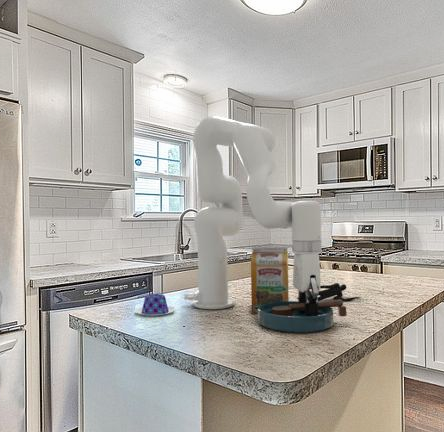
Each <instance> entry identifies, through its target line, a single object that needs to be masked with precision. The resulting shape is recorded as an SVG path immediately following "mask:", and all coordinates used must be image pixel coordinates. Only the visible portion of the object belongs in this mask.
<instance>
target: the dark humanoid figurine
mask: <svg viewBox="0 0 444 432" xmlns="http://www.w3.org/2000/svg"><path fill="white" fill-rule="evenodd" d="M320 289H323V290H319V291H318V292H319V294H318V296H317V297H318V298H317V299H318V302H319V301H324V300H326V299H330V298H332V297H333V300H342V301H343V302H350V301H354V300H358V299H359V300H362V296H353V297H346V298H343V295H344V294H343V291H346V289H347V285H346V284H341V285H340V283H338V282H335V283H333V284H329V285H320ZM309 296H310V294H309ZM298 299H299V298H298V297H297V298H296V300H298ZM300 299H301V298H300Z"/></svg>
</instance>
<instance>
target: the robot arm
mask: <svg viewBox="0 0 444 432" xmlns="http://www.w3.org/2000/svg"><path fill="white" fill-rule="evenodd" d="M275 143H276V140H275V136H274V134H273V132H272V131H271V130H270V129H269V128H267V127H265V126H260V125H256V124H252V123H246V122H242V121H237V120H234V119H230V118H226V117H221V116H215V115H211V116H206V117H204V118H202V119H201V120H200V121H199V122H198V123H197V125H196V127H195V129H194V132H193V138H192V144H193V149H194V156H195V164H196V169H195V170H196V190H197V195H198V198H199V200H200V201H202V202H203V203H207V204H219V206H209V207H208V206H207V207H203V208H201V209H200V210H199V211H197V212H196V214H195V216H194V219H193V226H194V227H193V228H194V231H195V235H196V243H197V244H196V245H197V274H198V275H197V279H198V281H197V282H198V284H197V285H198V289H197V290H196V292H194V293H190V292H189V293H184V300H186V301H187V300H188V301H193V306H194V308H198V309H203V310H223V309H228V308H231V307H233V306H234V301H233V300H231V299H230V298H229V273H228V272H229V270H228V269H229V268H228V267H229V265H228V264H229V263H228V248H227V244H226V241H225V238H224V237H231V236H235V235H237V234H239V233H240V231H241V230H242V228H243V224H244V209H243V208H244V206H243V205H244V204H243V191H242V186H241V184H240V182H239V180H238V179H237V178H236V177H234V176H233V175H229V174H224V170H223V169H224V168H223V167H224V166H223V158H222V155H221V153H220V151H219V149H218V147H217V146H223V147H229V148H234V149H235V150H236V153H237V154H238V157H239V159H240V161H241V163H242V167H243V169H244V171H245V173H246V175H247V183H246V200H247V203H248V206H249V208H250V210H251V212H252V215H253V216H254V219H255V221H257V223H258V224H259V226H262V227H263V228H264V229H270V230H271V229H289V228H290V229H291V240H292V241H291V248H292V249H291V252H292V253H291V254H294V255H293V267H292V269H293V270H292V285H293V288H295V290H297V291H298V293H297V294H298V295H297V298H299V299H297V301H298V303H305V310H299V313H300V314H305V317H306V316H317V315H318V299H317V298H318V297H319V295H318V294H319V292H318V291H321V288H320V286H321V265H320V264H321V263H320V255H319V254H322V208H321V203H320V202H319V201H317V200H298V201H297V200H296V201H288V200H286V201H285V200H274V198H273V197H272V194H271V192H270V189H269V187H268V177H270V176H271V175H272V174H273V173H274V172H275V171H276V167H277V166H276V162H275V160H274V158H273V156H272V154H271V152H272V151H273V150H274V147H275ZM309 294H310V296H309ZM300 298H301V299H300Z"/></svg>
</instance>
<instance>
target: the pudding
mask: <svg viewBox="0 0 444 432" xmlns="http://www.w3.org/2000/svg"><path fill="white" fill-rule="evenodd" d="M175 311H176V308H174V307H172V306H168V303H167V299H166V295H164V294H162V293H150V294H146V296H145V297H144V300H143V305H142V307H140V308H137V309H135V310H134V312H135V313H136V314H138V315H143V316H149V317H155V316H156V317H158V316H163V315H167V314H171V313H173V312H175Z"/></svg>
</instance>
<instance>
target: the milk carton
mask: <svg viewBox="0 0 444 432" xmlns="http://www.w3.org/2000/svg"><path fill="white" fill-rule="evenodd" d="M251 248H252V250H251V251H252V253H251V260H250V280H251V281H250V290H251V291H250V295H251V314H258V307H259V306H260V305H262V304H266V303H270V302H279V301H290V300H289V298H290V297H289V294H290V293H289V254H288V247H287V246H254V247H251Z"/></svg>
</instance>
